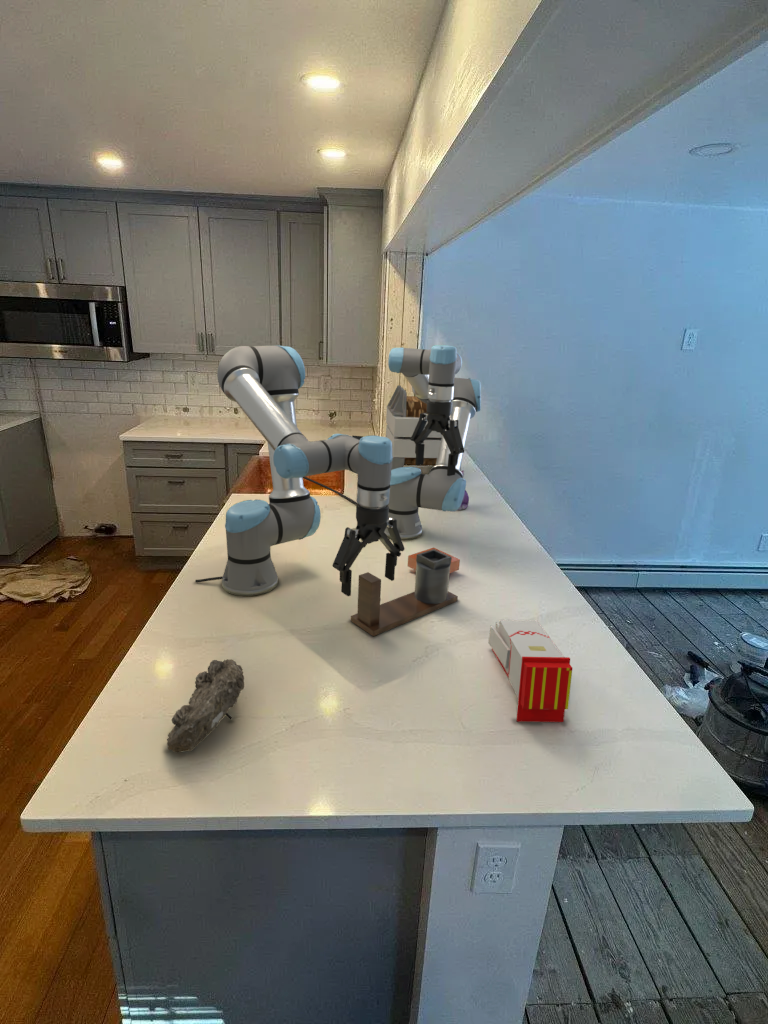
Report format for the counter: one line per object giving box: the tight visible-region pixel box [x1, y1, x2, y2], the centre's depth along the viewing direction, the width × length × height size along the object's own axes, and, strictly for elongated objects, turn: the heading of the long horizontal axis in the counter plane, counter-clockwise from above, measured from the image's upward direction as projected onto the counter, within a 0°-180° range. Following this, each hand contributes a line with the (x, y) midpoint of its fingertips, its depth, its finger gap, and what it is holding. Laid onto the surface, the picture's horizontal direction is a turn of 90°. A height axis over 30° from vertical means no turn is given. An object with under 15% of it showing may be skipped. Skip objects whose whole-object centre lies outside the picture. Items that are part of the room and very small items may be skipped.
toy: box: [488, 619, 573, 723], centre depth 122 cm, size 12×13×30 cm
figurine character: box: [351, 435, 364, 440], centre depth 309 cm, size 7×8×15 cm
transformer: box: [385, 384, 462, 471], centre depth 268 cm, size 34×33×41 cm
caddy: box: [350, 549, 459, 637], centre depth 147 cm, size 30×9×14 cm, turn 131°
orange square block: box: [407, 547, 461, 574], centre depth 171 cm, size 11×11×5 cm
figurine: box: [457, 469, 470, 511], centre depth 227 cm, size 9×10×15 cm
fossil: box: [166, 658, 245, 754], centre depth 106 cm, size 22×10×15 cm
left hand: (368, 586), depth 138 cm, fingers open, 13 cm apart
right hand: (434, 469), depth 174 cm, fingers open, 13 cm apart
